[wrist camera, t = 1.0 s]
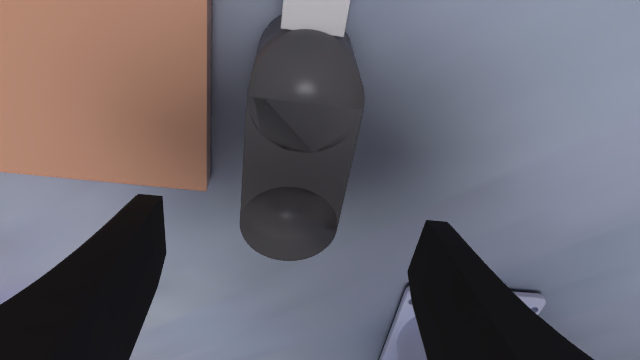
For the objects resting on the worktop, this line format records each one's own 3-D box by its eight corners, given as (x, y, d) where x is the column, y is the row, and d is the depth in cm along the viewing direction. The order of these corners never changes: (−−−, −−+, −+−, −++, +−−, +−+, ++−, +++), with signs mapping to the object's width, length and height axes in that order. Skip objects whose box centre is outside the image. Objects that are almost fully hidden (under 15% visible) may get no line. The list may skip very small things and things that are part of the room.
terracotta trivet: (210, 177, 20) (206, 191, 19) (-57, 152, 19) (-73, 165, 18) (212, -114, 14) (207, -113, 13) (-186, -181, 13) (-220, -185, 12)
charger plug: (324, 202, 21) (329, 264, 18) (247, 194, 21) (237, 256, 17) (370, -35, 15) (389, -8, 12) (264, -52, 15) (254, -28, 12)
